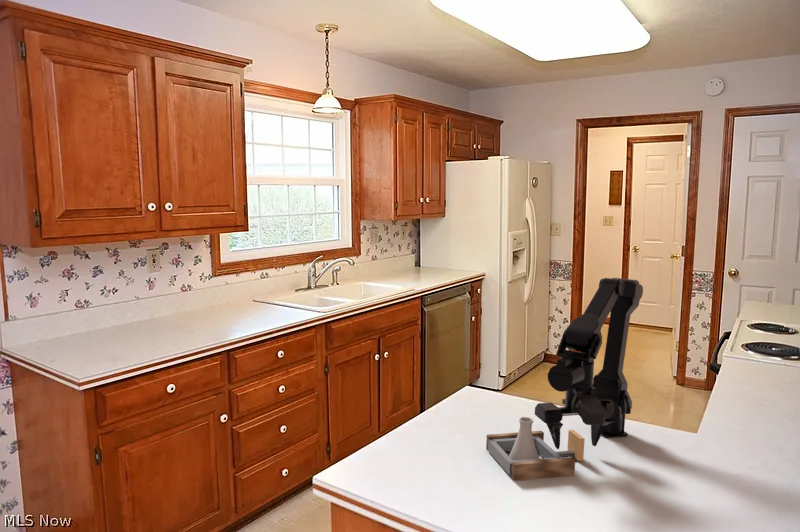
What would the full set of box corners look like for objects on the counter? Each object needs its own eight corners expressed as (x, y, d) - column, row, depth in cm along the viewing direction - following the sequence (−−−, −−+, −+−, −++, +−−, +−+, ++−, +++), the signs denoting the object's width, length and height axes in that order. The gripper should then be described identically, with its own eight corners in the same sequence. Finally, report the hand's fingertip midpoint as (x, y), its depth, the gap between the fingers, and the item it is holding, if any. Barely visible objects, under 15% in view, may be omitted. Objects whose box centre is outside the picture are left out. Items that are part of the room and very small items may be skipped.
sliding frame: (564, 444, 139) (565, 423, 138) (592, 468, 127) (593, 445, 126) (488, 450, 135) (488, 428, 134) (509, 475, 123) (510, 451, 122)
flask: (503, 464, 128) (505, 421, 127) (513, 452, 135) (514, 411, 134) (535, 472, 125) (538, 428, 124) (544, 459, 131) (546, 417, 130)
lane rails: (540, 444, 139) (541, 430, 139) (574, 475, 124) (575, 459, 124) (486, 448, 136) (486, 434, 136) (513, 480, 121) (514, 464, 121)
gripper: (558, 395, 121) (554, 466, 123) (638, 390, 125) (633, 459, 127) (535, 378, 132) (532, 444, 133) (609, 374, 136) (604, 438, 137)
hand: (575, 447), depth 132 cm, fingers open, 9 cm apart
